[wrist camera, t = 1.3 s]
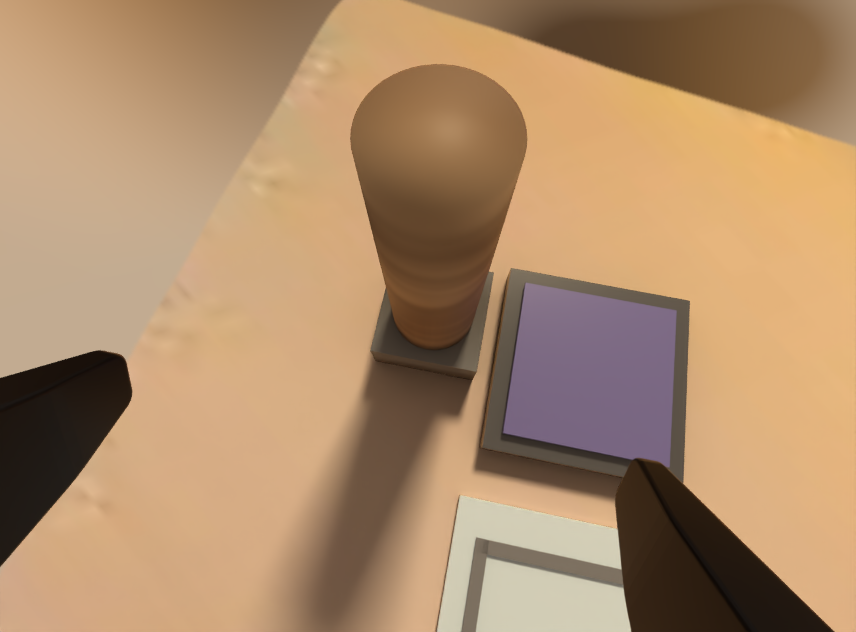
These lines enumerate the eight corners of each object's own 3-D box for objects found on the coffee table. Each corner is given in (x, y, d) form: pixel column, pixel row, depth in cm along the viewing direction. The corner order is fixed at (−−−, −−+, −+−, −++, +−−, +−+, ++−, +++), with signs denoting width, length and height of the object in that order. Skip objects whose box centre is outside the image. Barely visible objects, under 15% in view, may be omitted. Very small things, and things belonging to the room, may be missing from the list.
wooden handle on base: (472, 380, 21) (537, 257, 8) (375, 360, 21) (296, 214, 8) (488, 288, 22) (565, 63, 9) (397, 271, 22) (355, 30, 10)
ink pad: (670, 487, 19) (687, 489, 18) (479, 447, 20) (483, 447, 18) (678, 308, 21) (693, 298, 20) (507, 276, 22) (512, 265, 21)
